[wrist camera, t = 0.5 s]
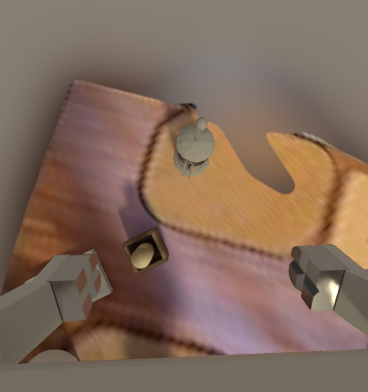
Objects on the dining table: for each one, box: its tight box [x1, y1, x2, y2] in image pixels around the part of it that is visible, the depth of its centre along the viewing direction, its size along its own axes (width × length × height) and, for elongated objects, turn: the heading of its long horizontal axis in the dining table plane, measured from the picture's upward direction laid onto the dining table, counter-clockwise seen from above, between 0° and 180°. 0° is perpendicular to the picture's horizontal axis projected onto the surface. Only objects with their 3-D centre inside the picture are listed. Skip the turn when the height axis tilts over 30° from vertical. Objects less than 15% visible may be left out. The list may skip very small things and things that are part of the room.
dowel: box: [131, 240, 156, 268], centre depth 50 cm, size 4×4×12 cm
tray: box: [25, 249, 113, 302], centre depth 55 cm, size 12×18×2 cm, turn 116°
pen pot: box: [122, 227, 169, 276], centre depth 53 cm, size 8×8×7 cm
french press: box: [174, 117, 215, 178], centre depth 46 cm, size 10×12×25 cm
